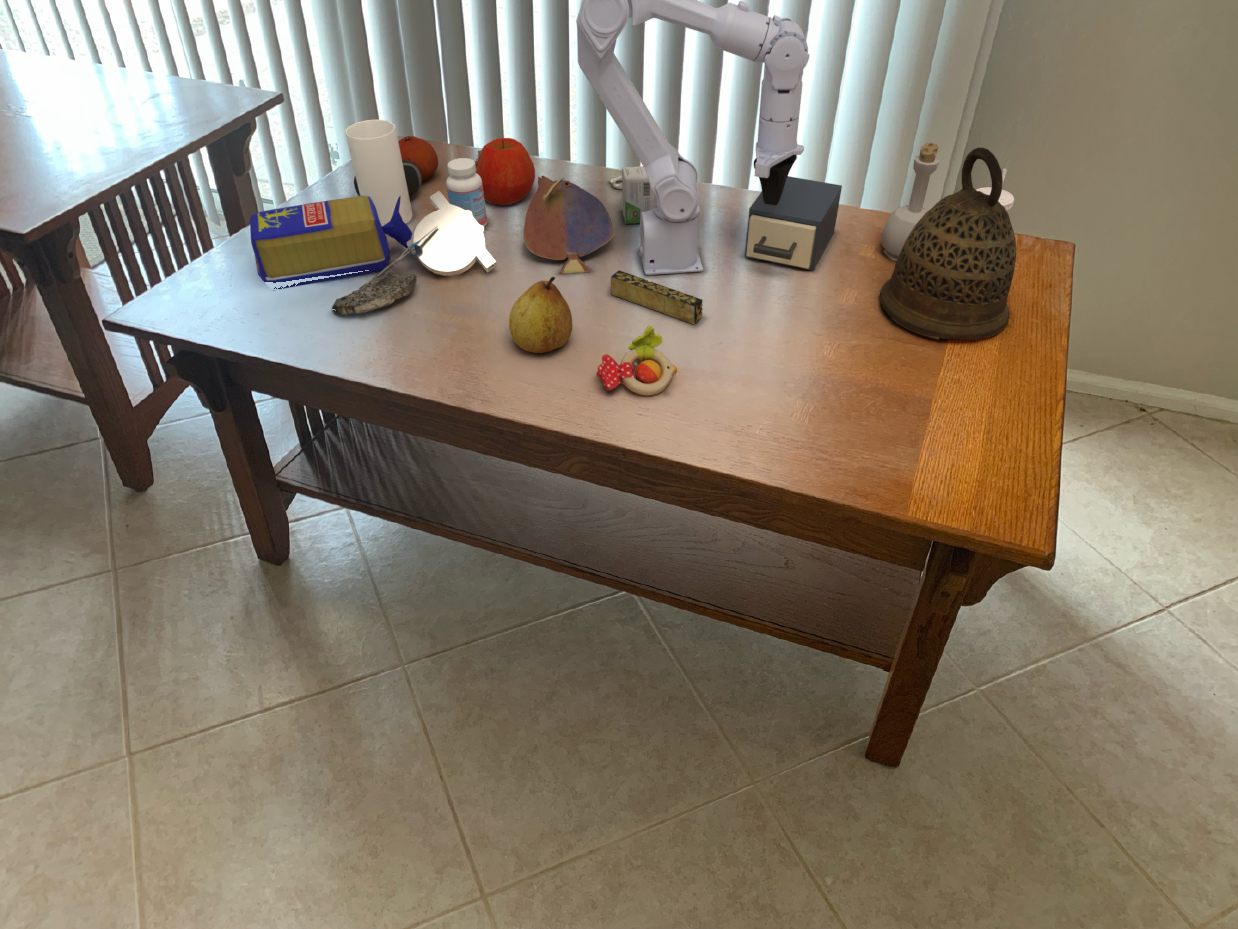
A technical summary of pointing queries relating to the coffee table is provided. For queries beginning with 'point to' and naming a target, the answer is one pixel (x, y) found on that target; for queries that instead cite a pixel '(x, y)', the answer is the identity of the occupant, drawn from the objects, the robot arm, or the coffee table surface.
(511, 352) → the coffee table surface
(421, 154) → the fruit
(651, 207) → the ink box
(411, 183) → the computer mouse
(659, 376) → the bird rattle
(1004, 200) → the smoothie
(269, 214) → the bread
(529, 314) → the fruit
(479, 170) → the apple
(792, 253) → the drawer
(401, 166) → the cup
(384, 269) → the scissors
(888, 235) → the potion bottle
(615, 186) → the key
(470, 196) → the pill bottle
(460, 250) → the tabbed white plastic disc
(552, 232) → the fish
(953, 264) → the bell
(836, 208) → the cabinet
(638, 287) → the decorative block
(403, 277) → the stone
